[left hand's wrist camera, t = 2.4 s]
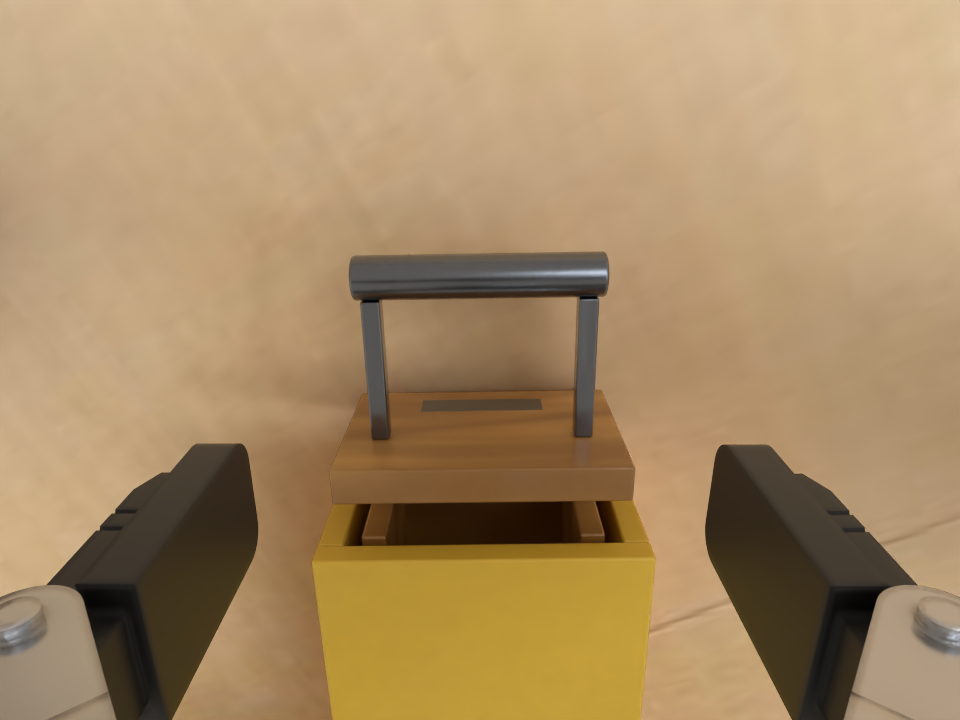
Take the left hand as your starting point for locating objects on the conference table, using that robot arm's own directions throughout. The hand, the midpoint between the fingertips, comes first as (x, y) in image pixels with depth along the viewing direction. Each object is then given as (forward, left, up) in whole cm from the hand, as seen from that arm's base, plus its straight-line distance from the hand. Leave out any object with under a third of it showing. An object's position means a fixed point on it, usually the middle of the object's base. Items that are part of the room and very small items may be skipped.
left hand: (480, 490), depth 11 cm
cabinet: (-11, +12, -14) cm, 22 cm away
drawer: (-7, +7, -13) cm, 17 cm away
